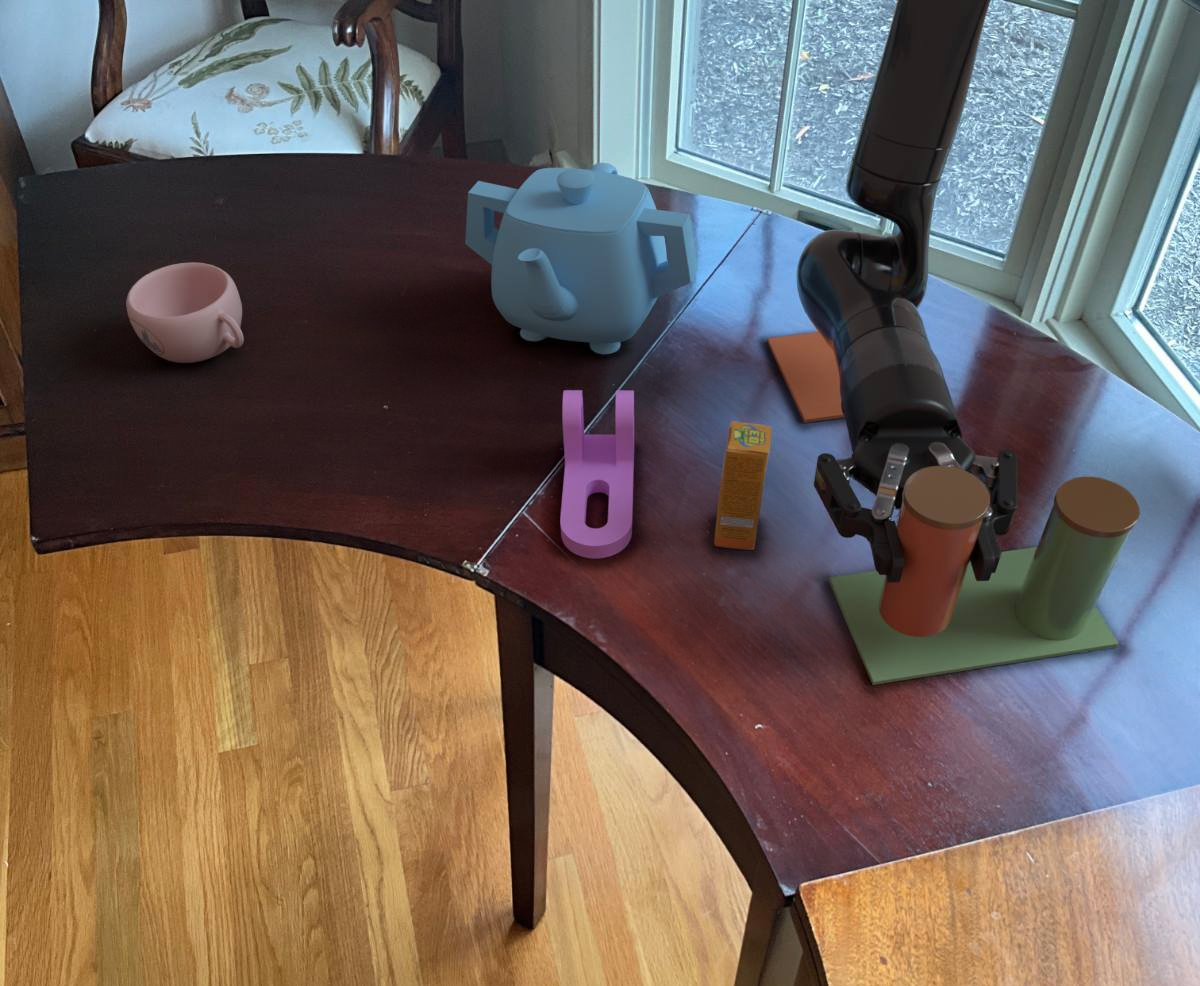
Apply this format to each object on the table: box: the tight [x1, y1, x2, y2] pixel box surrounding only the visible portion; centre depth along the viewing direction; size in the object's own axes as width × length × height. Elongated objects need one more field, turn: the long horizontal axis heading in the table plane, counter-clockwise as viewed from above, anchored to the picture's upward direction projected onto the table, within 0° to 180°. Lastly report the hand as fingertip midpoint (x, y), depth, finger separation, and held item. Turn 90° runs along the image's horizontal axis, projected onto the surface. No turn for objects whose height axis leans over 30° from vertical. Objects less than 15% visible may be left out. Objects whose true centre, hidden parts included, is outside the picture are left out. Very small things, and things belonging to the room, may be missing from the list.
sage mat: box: [828, 546, 1119, 686], centre depth 81 cm, size 18×10×1 cm, turn 100°
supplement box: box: [713, 421, 773, 551], centre depth 83 cm, size 3×3×10 cm
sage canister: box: [1015, 476, 1141, 640], centre depth 76 cm, size 5×5×11 cm
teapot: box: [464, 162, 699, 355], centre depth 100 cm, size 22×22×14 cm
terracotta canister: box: [878, 466, 991, 637], centre depth 73 cm, size 5×5×11 cm
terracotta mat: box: [766, 331, 845, 424], centre depth 100 cm, size 12×12×1 cm
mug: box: [125, 261, 245, 364], centre depth 103 cm, size 12×10×6 cm
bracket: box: [559, 389, 635, 559], centre depth 87 cm, size 13×6×7 cm, turn 178°
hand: (941, 572), depth 70 cm, fingers closed on terracotta canister, 5 cm apart
